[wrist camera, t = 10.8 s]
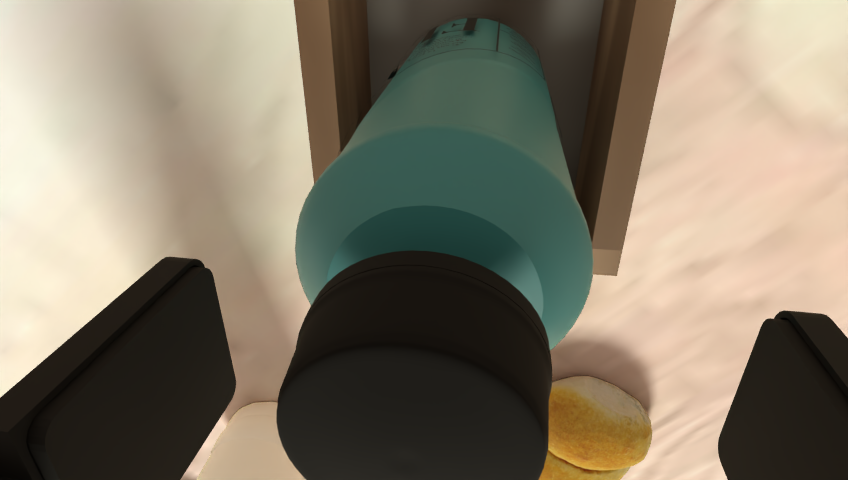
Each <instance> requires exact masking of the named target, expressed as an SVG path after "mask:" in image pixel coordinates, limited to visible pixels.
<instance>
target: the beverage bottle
mask: <svg viewBox="0 0 848 480" xmlns="http://www.w3.org/2000/svg"><path fill="white" fill-rule="evenodd" d="M466 15H480V14H466ZM459 16H461V15H459ZM485 16H487V15H485ZM455 17H456V16H455ZM462 17H464V16H462ZM465 17H467V16H465ZM468 17H470V16H468ZM480 17H481V16H480ZM483 17H484V16H483ZM491 17H492V16H491ZM456 18H458V17H456ZM494 18H495V17H494ZM448 19H449V18H448ZM453 19H455V18H453ZM498 19H499V18H498ZM450 20H451V19H450ZM500 20H501V19H499V22H496V21H493V20H489V19H483V18H462V19H458V20H454V21H451V22H448V23H446V24H444V25H441V26H439V25H438V24H437V25H438V26H439V27H438V26H436V27H434V28H433V27H432V28H433V29H431V30H430V29H429V32H428V33H427V35H426V36H425V37H424V38H423V39H422V40H421V42H420V43H419V44H418V45H417V46H416V47H415V49H414V50H413V51H411V52H412V53H411V54H410V55H409V57H408V58H407V60H405V59H402V61H404V60H405V62H403V63H404V64H403V65H402V67H401V68H400V66H399V68H400V69H399V68H396V69H393V71H392V72H391V74H390V75H388V77H389V78H388V77H387V78H388V79H391V78H393V79H392V80H391V82H390V83H389V84H388V86H387V87H386V88H385V90H384V91H383V92H382V94H381V95H380V97H379V98H378V99H377V101H376V102H375V103H374V105H373V106H372V108H371V109H370V110H369V112H368V113H367V114H366V116H365V117H364V119H363V120H362V122H361V123H360V124H359V126H358V127H357V126H356V131H355V132H354V134H353V136H352V138H351V139H350V141H349V143H348V144H347V145H346V147H345V148H344V150H343V151H342V152H341V154H340V155H339V156H337V158H336V159H335V160H334V161H333V162H332V163H331V164H330V165H329V166H328V167H327V168H326V169H325V171H324V172H323V173H322V174H321V176H320V177H319V178H318V180H317V181H316V183H315V184H314V186H313V187H312V189H311V191H310V193H309V195H308V196H307V198H306V200H305V203H304V205H303V208H302V210H301V213H300V216H299V221H298V225H297V230H296V244H295V253H296V265H297V269H298V274H299V278H300V281H301V284H302V287H303V289H304V292H305V294H306V296H307V298H308V300H309V302H310V304H311V307H310V309H309V311H308V313H307V315H306V317H305V319H304V322H303V324H302V327H301V329H300V332H299V335H298V340H297V345H296V350H295V353H294V356H293V358H292V361H291V363H290V366H289V368H288V371H287V374H286V376H285V379H284V381H283V384H282V386H281V389H280V392H279V397H278V406H277V414H276V423H277V429H278V434H279V437H280V440H281V443H282V446H283V448H284V450H285V452H286V454H287V456H288V458H289V459H290V461H291V462H292V464H293V465H294V467H295V468H296V469H297V470H298V471H299V473H300V474H301V475H302V476H303V477H304V478H305V479H306V480H539V478H540V476H541V473H542V471H543V469H544V464H545V460H546V457H547V452H548V442H549V398H550V393H551V388H552V364H551V354H550V350H551V349H553V348H554V347H555V346H556V345H557V344H558V343H559V342H560V341H561V340H562V339H563V338H564V337H565V335H566V334H567V333H568V331H569V330H570V329H571V328H572V326H573V325H574V323H575V322H576V320H577V318H578V317H579V315H580V313H581V311H582V309H583V307H584V305H585V302H586V300H587V297H588V295H589V291H590V287H591V282H592V277H593V262H594V260H593V249H592V242H591V238H590V234H589V229H588V226H587V222H586V220H585V217H584V215H583V212H582V210H581V207H580V205H579V203H578V201H577V200H576V196H575V193H574V189H573V185H572V182H571V178H570V175H569V171H568V167H567V164H566V160H565V156H564V153H563V149H562V145H561V142H560V138H559V134H558V131H557V127H556V121H555V116H556V113H555V114H554V111H555V109H554V111H553V107H554V106H553V107H552V105H553V102H552V103H551V100H552V98H551V99H550V95H549V90H548V86H547V82H546V78H545V74H544V70H543V67H542V64H541V59H540V60H539V58H540V55H539V58H538V56H537V54H536V52H535V51H534V50H535V49H534V48H532V46H531V45H530V44H529V43H528V42H527V41H526V40H525V38H524V37H523V36H524V35H523V33H522V35H523V36H521V35H520V33H519V31H518V29H517V32H518V33H517V32H516V28H517V27H516V28H515V30H513V29H514V28H513V26H514V25H513V26H512V28H513V29H512V28H510V27H508V26H506V25H504V24H501V23H500ZM447 21H448V20H447ZM503 21H504V20H503ZM441 22H442V21H441ZM443 22H445V21H444V20H443ZM505 22H506V21H505ZM439 24H440V23H439ZM435 25H436V24H435ZM511 25H512V24H511ZM437 27H438V28H437ZM519 30H520V29H519ZM427 31H428V30H427ZM524 34H525V33H524ZM421 36H423V35H421ZM528 38H529V37H528ZM529 39H530V38H529ZM530 40H531V39H530ZM531 41H532V40H531ZM532 42H533V41H532ZM414 43H415V42H414ZM413 45H414V44H413ZM413 45H412V46H413ZM409 49H410V48H409ZM537 50H538V49H537ZM406 53H407V52H406ZM538 54H539V51H538ZM403 57H404V56H403ZM404 58H405V57H404ZM400 61H401V60H400ZM397 65H399V64H397ZM400 65H401V64H400ZM397 67H398V66H397ZM398 69H399V71H398V72H397V70H398ZM389 81H390V80H389ZM389 81H388V82H389ZM384 82H385V81H384ZM388 82H387V83H388ZM381 88H382V87H381ZM381 88H380V89H381ZM380 89H379V90H380ZM373 97H374V96H373ZM373 97H372V98H373ZM359 117H360V116H359ZM556 118H557V116H556ZM358 120H359V118H358ZM557 122H558V120H557ZM357 124H358V122H357ZM558 125H559V124H558ZM351 126H352V125H351ZM559 129H560V127H559ZM347 133H348V132H347ZM560 133H561V131H560ZM346 135H347V134H346ZM561 136H562V134H561ZM343 142H344V141H343ZM342 144H343V143H342ZM341 146H342V145H341ZM339 151H340V150H339ZM338 154H339V153H338Z"/></svg>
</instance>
